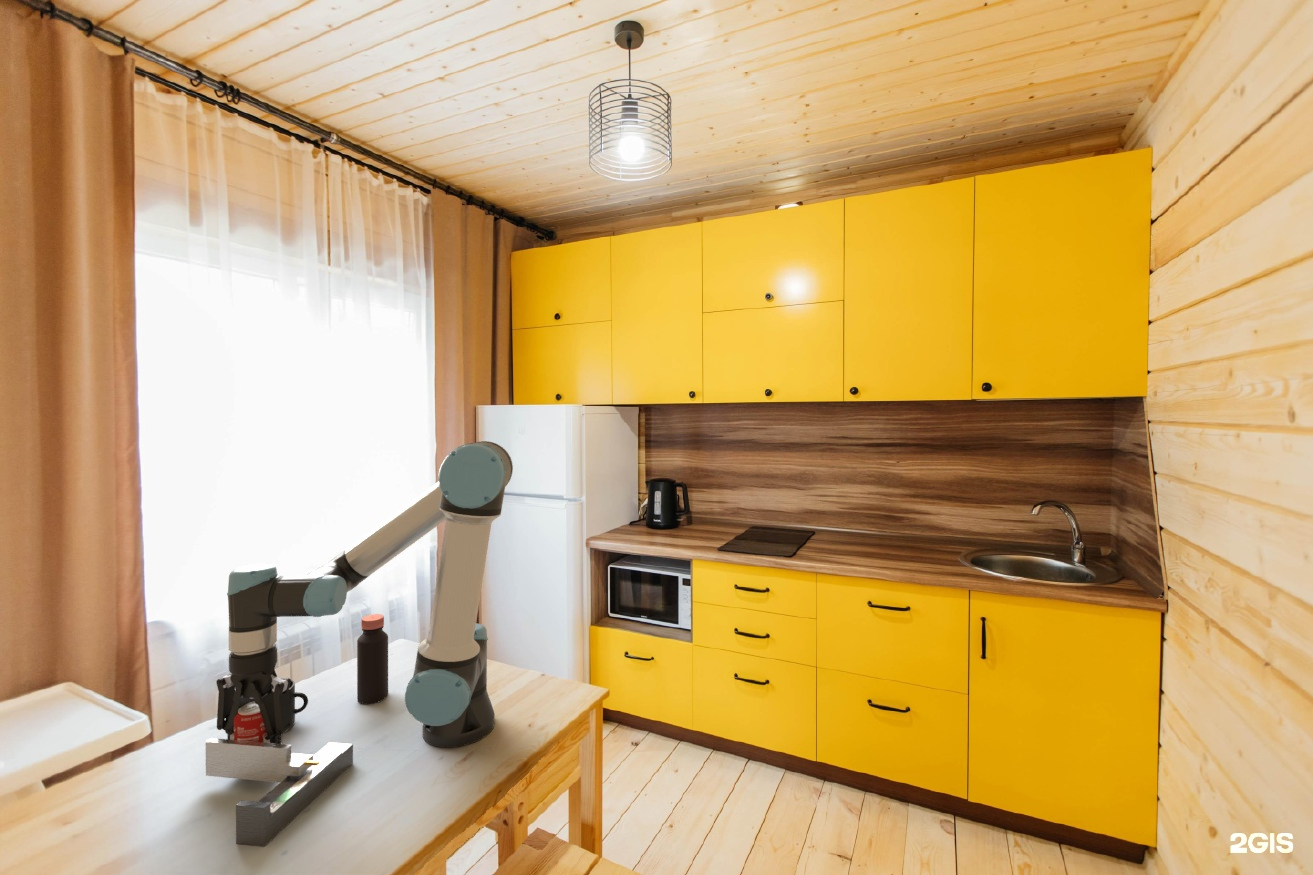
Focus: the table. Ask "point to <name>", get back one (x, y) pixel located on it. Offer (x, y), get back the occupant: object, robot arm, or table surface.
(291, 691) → the mug
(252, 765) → the gauge paddle
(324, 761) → the grey long bar
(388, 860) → the table surface
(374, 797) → the table surface
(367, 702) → the bottle
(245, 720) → the beverage can
